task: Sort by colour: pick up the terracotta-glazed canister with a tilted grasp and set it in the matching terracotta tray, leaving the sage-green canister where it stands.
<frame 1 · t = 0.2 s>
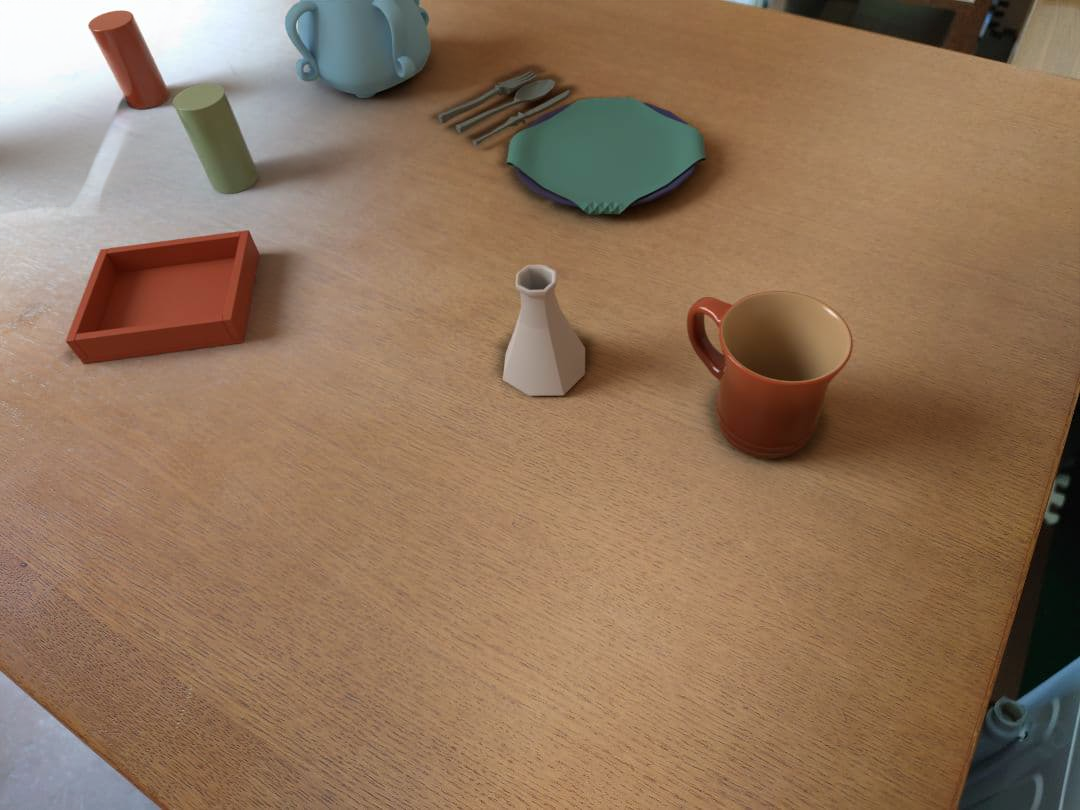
terracotta tray: (176, 305, 74), on the table
flask: (544, 367, 66), on the table
mug: (744, 417, 61), on the table
cutlery set: (573, 147, 86), on the table
sage canister: (235, 179, 87), on the table
terracotta canister: (149, 98, 100), on the table
decorative pot: (373, 75, 100), on the table
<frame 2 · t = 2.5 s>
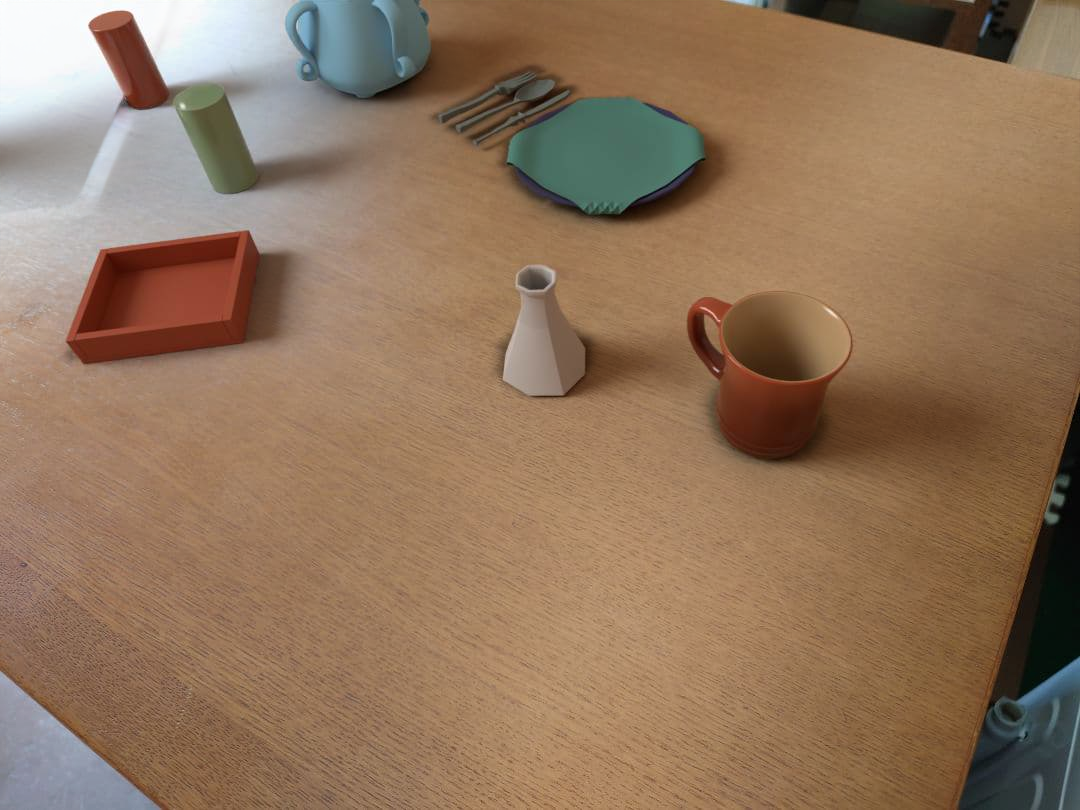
nothing on the table moved.
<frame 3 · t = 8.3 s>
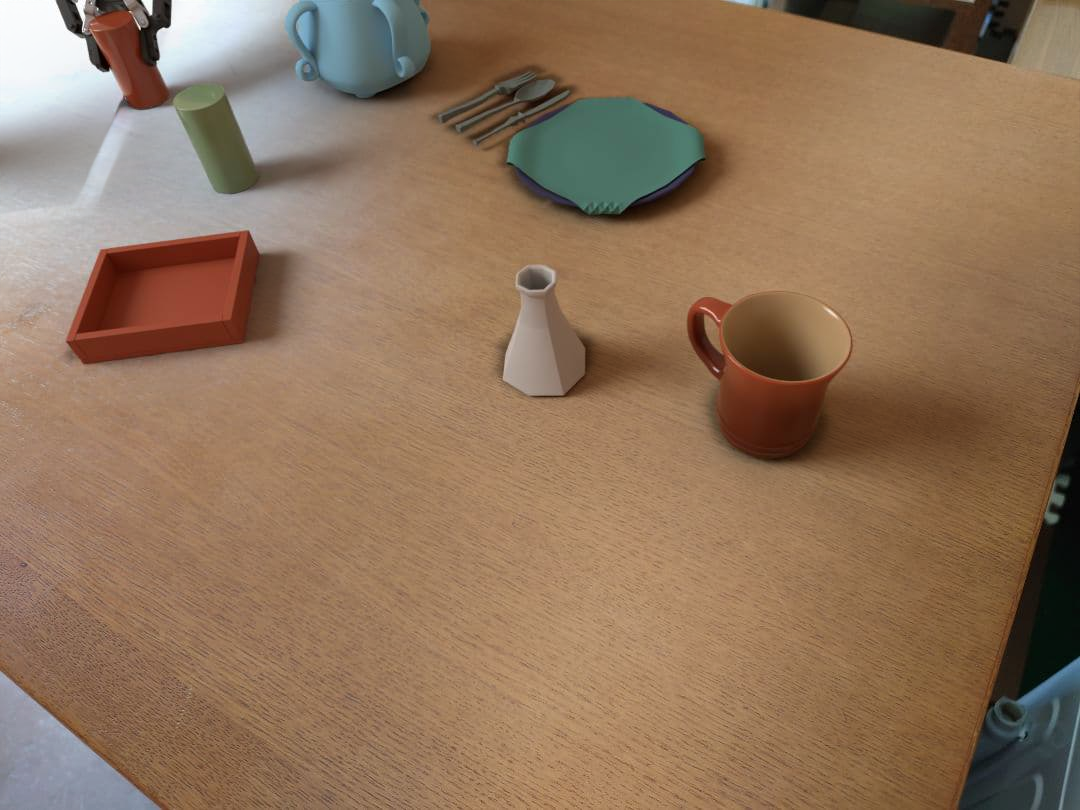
hand: (126, 66, 95), 5 cm above the table, tool tilted 45°, fingers closed on terracotta canister, 5 cm apart
terracotta canister: (149, 98, 100), on the table, touching gripper
everything else where it was.
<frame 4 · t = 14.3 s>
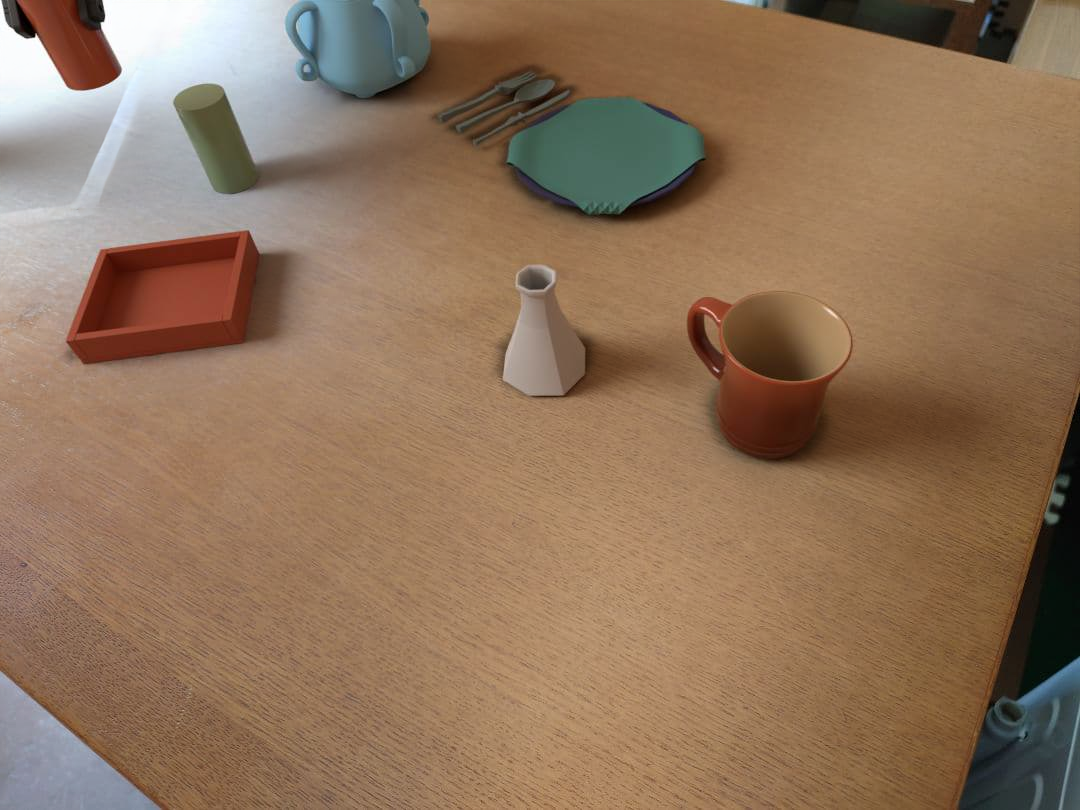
hand: (58, 30, 68), 20 cm above the table, tool tilted 45°, fingers closed on terracotta canister, 5 cm apart
terracotta canister: (94, 76, 73), point 15 cm above the table, touching gripper
everything else where it was.
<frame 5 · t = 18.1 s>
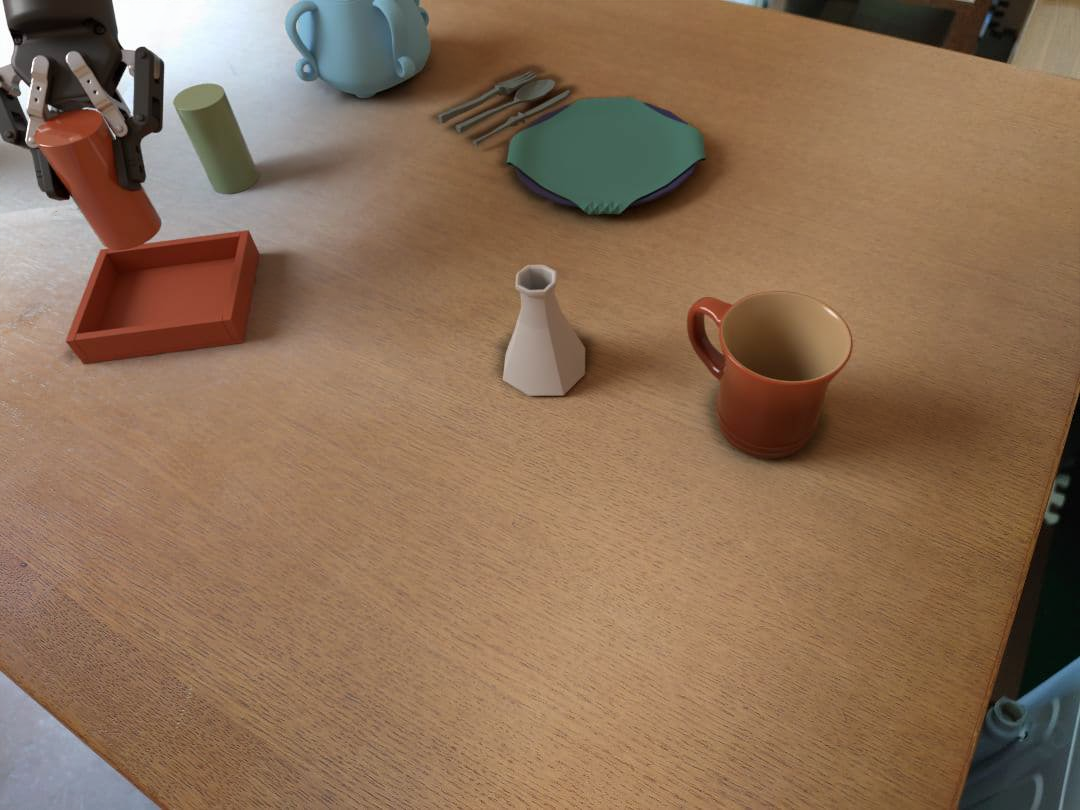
hand: (95, 193, 62), 14 cm above the table, tool tilted 45°, fingers closed on terracotta canister, 5 cm apart
terracotta canister: (131, 230, 67), point 9 cm above the table, touching gripper
everything else where it was.
when the fingers open (6 cm above the table, at t = 20.8 s): terracotta canister stays where it is, resting on terracotta tray.
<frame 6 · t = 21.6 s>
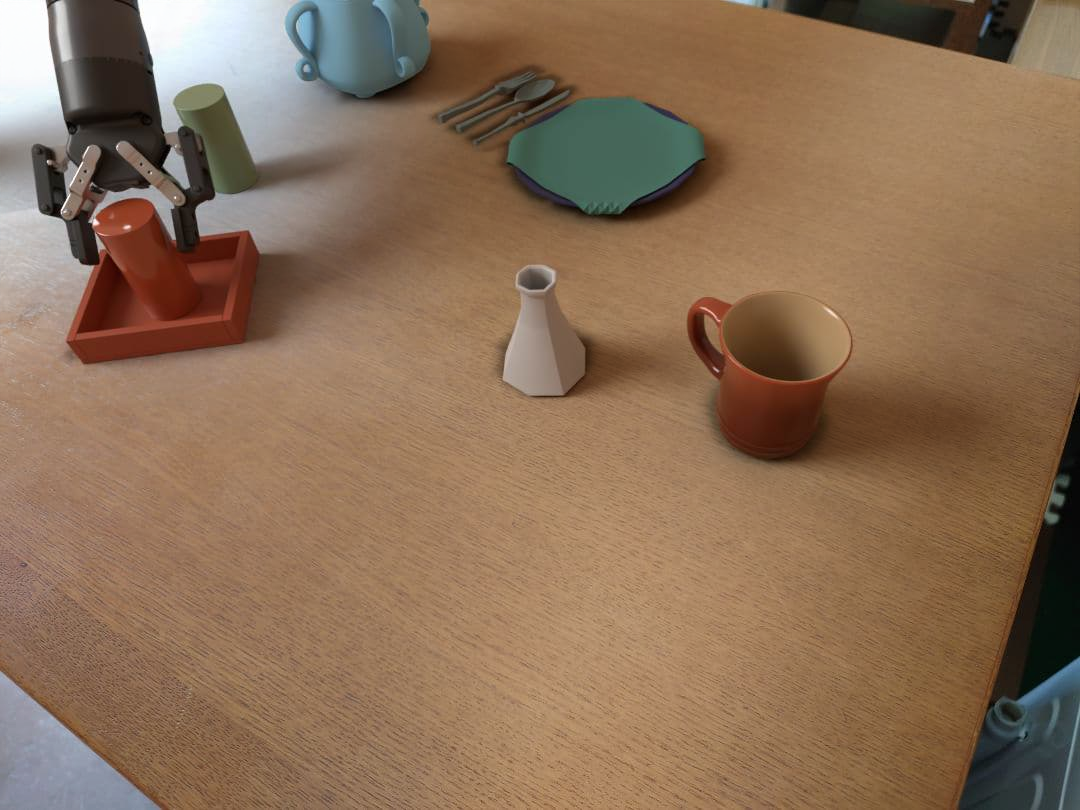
hand: (139, 258, 68), 7 cm above the table, tool tilted 45°, fingers open, 8 cm apart
terracotta canister: (174, 301, 74), resting on terracotta tray
everything else where it was.
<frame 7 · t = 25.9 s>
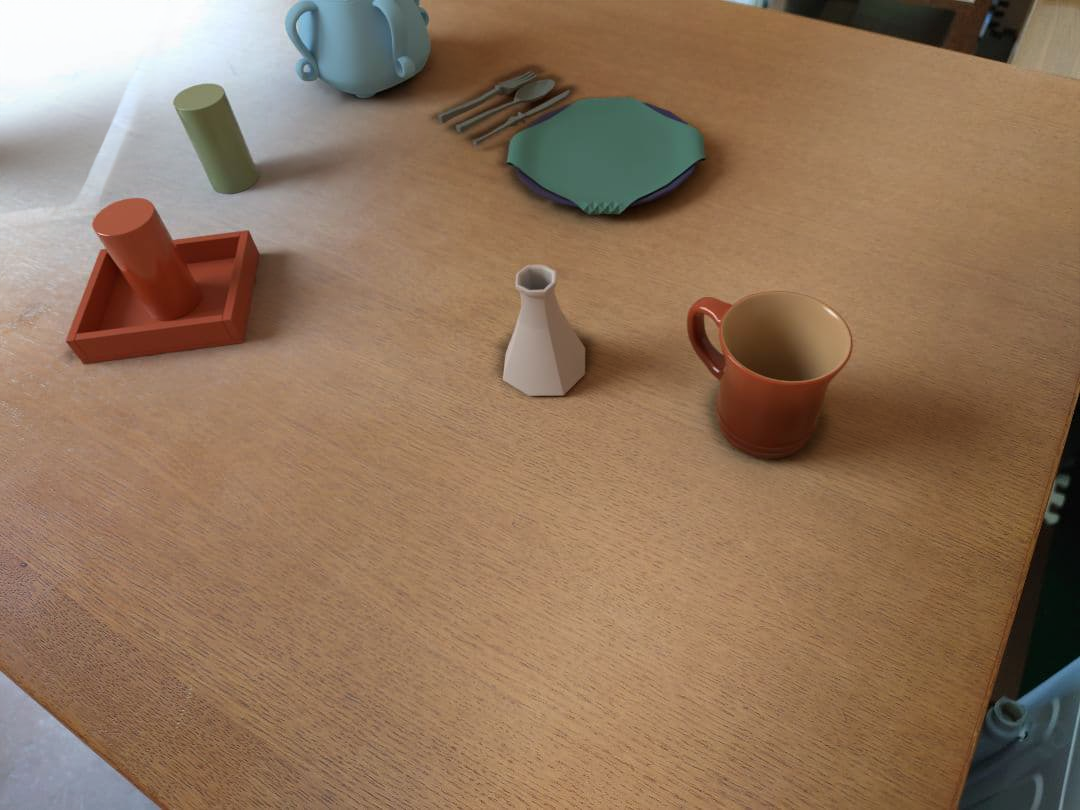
nothing on the table moved.
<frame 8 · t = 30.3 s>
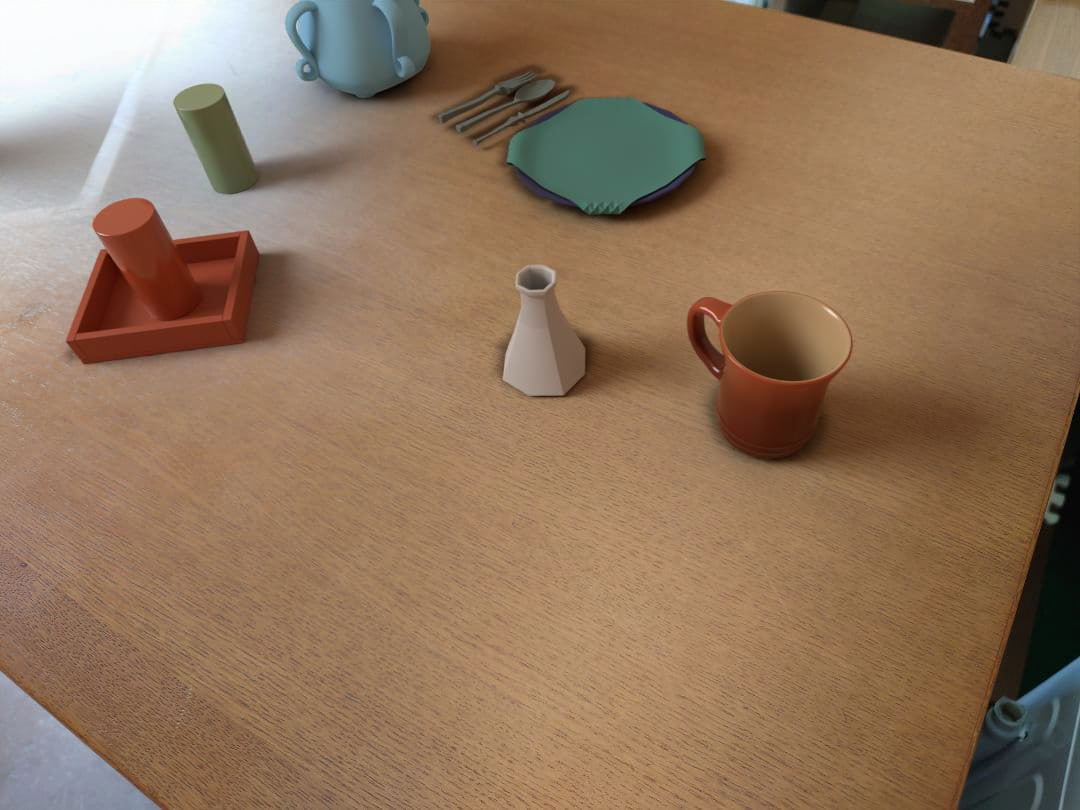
nothing on the table moved.
at the end: terracotta canister inside the target area in the terracotta tray (0.1 cm from its centre), point 0.5 cm above the terracotta tray's base; terracotta canister tilted 0°; sage canister moved 0.0 cm from its start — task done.
